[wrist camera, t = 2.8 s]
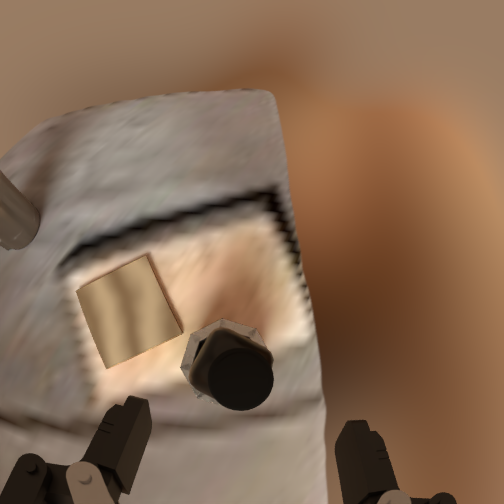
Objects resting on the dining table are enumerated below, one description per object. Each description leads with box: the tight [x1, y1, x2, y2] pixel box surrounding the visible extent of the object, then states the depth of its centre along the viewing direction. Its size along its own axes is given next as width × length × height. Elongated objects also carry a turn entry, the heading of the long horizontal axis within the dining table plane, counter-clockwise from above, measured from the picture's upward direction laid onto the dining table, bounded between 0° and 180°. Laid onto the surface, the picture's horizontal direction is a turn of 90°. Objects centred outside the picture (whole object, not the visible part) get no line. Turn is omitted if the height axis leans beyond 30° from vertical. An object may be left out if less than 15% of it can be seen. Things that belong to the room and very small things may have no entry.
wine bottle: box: [188, 327, 274, 411], centre depth 26 cm, size 6×6×30 cm
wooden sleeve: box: [180, 318, 267, 406], centre depth 37 cm, size 10×10×8 cm
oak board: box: [76, 256, 183, 369], centre depth 41 cm, size 13×13×1 cm
